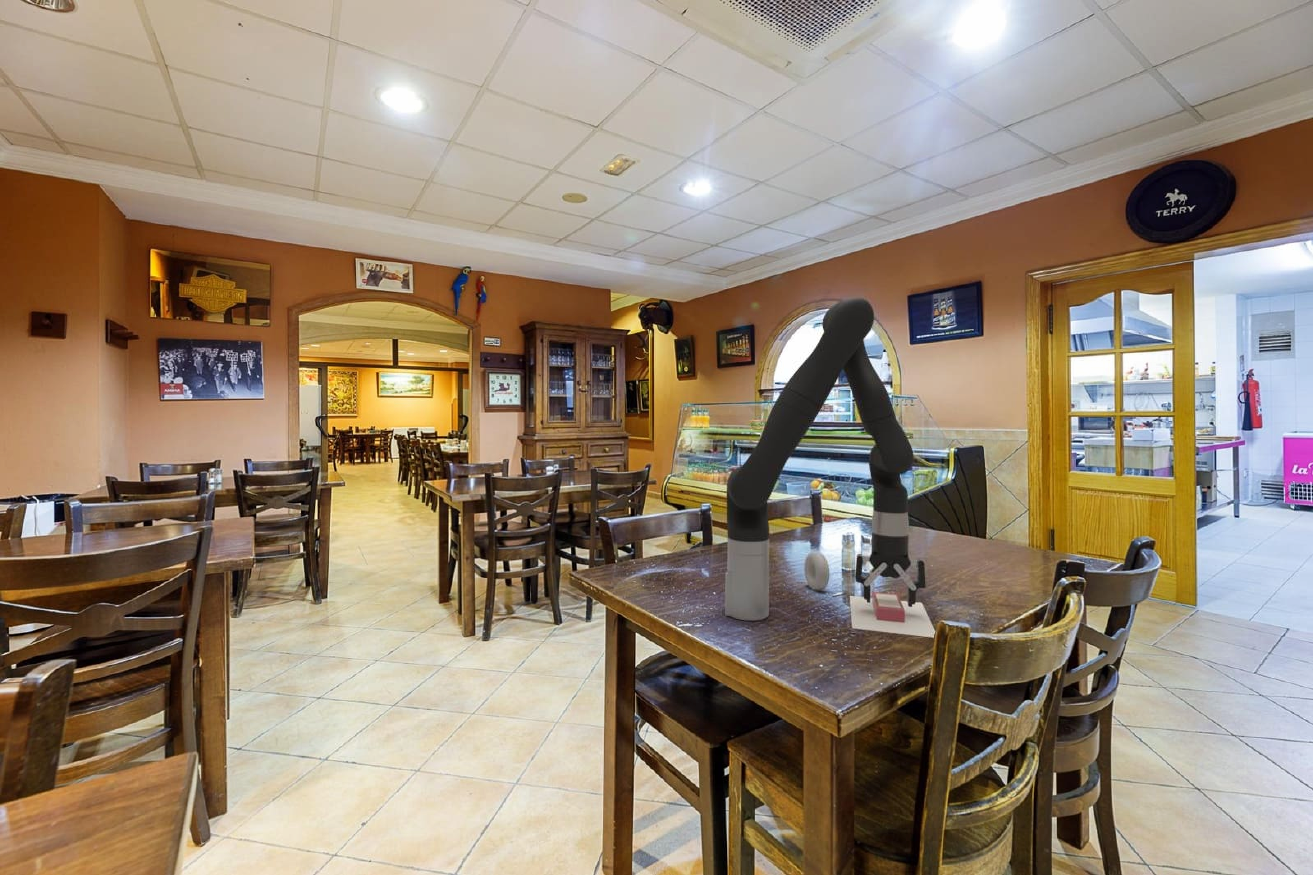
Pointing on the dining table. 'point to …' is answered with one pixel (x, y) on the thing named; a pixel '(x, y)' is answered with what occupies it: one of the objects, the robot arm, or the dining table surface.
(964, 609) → the dining table surface
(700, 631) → the dining table surface
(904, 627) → the mat
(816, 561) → the donut
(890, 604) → the card case
